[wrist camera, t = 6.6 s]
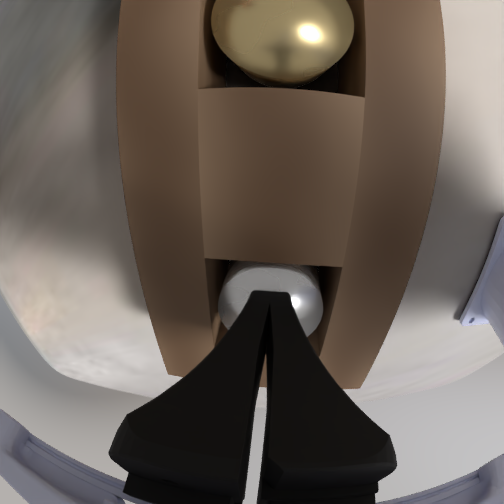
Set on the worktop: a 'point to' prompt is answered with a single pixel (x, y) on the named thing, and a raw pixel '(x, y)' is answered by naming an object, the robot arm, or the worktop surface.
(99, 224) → the worktop surface
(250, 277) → the steel peg
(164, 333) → the walnut block
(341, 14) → the brass peg
